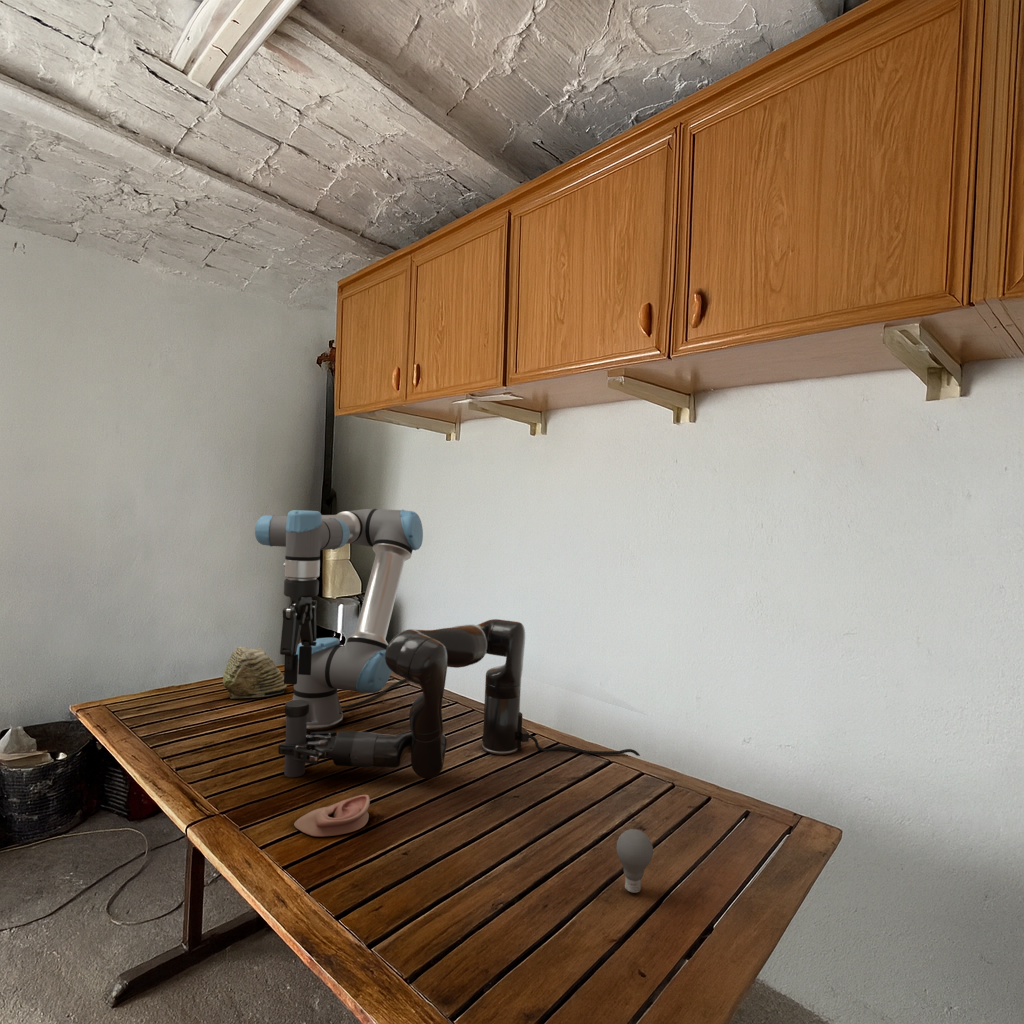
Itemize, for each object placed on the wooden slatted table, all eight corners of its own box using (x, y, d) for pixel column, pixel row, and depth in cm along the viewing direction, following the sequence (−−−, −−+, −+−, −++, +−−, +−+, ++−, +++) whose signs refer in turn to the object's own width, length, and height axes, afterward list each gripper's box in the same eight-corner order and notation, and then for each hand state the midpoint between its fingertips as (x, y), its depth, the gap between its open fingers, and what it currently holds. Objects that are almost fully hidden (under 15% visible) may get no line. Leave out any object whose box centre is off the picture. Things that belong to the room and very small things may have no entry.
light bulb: (610, 879, 108) (613, 822, 108) (644, 879, 109) (647, 822, 109) (619, 902, 102) (622, 840, 102) (655, 901, 103) (658, 840, 103)
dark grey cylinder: (281, 776, 142) (283, 708, 142) (288, 768, 147) (291, 701, 146) (300, 777, 142) (303, 709, 142) (307, 769, 147) (310, 702, 146)
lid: (281, 716, 142) (281, 706, 142) (289, 708, 147) (290, 699, 147) (304, 717, 142) (304, 707, 141) (312, 709, 147) (312, 700, 147)
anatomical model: (285, 811, 119) (316, 784, 130) (285, 832, 119) (316, 803, 130) (351, 821, 116) (377, 793, 127) (350, 842, 116) (376, 813, 128)
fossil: (218, 695, 195) (220, 647, 195) (278, 685, 208) (279, 640, 207) (228, 703, 189) (230, 653, 188) (289, 692, 201) (290, 645, 201)
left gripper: (303, 572, 154) (299, 666, 154) (265, 582, 134) (261, 690, 134) (333, 574, 153) (329, 668, 154) (299, 584, 133) (295, 693, 134)
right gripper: (366, 721, 151) (296, 717, 151) (349, 744, 137) (271, 740, 137) (365, 752, 151) (294, 748, 152) (347, 779, 137) (269, 774, 137)
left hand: (297, 678), depth 144 cm, fingers open, 7 cm apart
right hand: (284, 744), depth 144 cm, fingers closed on dark grey cylinder, 4 cm apart
